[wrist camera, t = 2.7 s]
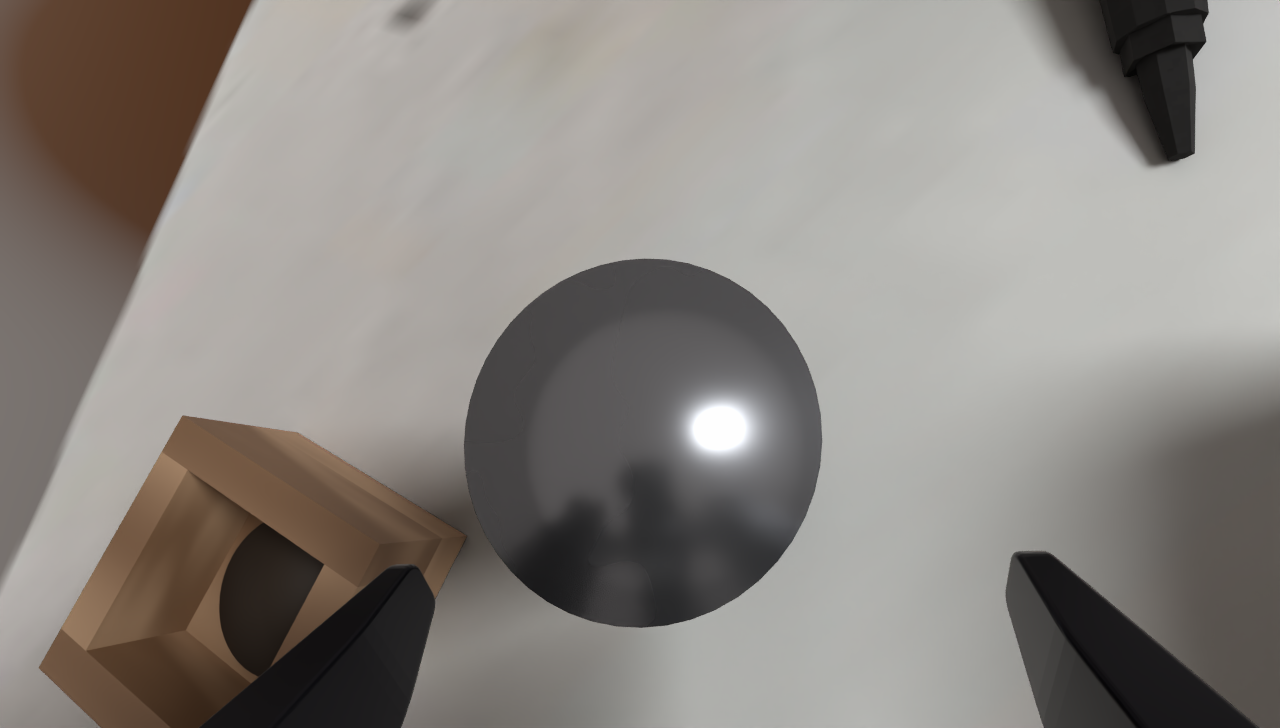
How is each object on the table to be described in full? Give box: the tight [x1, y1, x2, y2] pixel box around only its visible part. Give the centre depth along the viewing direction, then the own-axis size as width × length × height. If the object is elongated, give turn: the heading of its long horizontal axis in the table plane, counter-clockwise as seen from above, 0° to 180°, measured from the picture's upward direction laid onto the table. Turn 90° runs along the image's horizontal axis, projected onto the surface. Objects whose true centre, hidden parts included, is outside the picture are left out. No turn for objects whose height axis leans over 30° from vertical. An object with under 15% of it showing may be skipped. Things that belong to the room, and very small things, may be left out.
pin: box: [464, 259, 822, 628], centre depth 13 cm, size 4×4×12 cm
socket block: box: [39, 416, 467, 728], centre depth 19 cm, size 8×8×4 cm
